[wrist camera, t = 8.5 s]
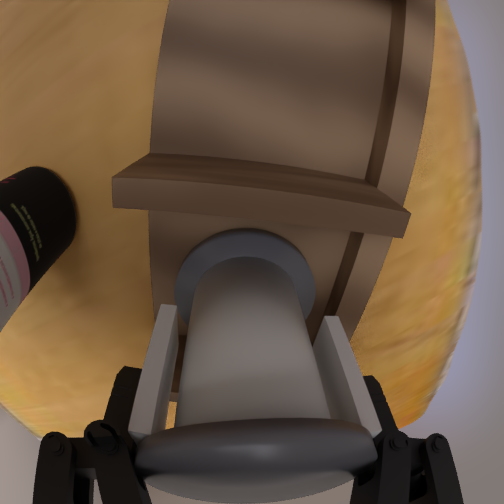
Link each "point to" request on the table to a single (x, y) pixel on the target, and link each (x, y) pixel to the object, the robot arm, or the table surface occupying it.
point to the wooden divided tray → (285, 138)
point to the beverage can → (31, 232)
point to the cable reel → (250, 383)
